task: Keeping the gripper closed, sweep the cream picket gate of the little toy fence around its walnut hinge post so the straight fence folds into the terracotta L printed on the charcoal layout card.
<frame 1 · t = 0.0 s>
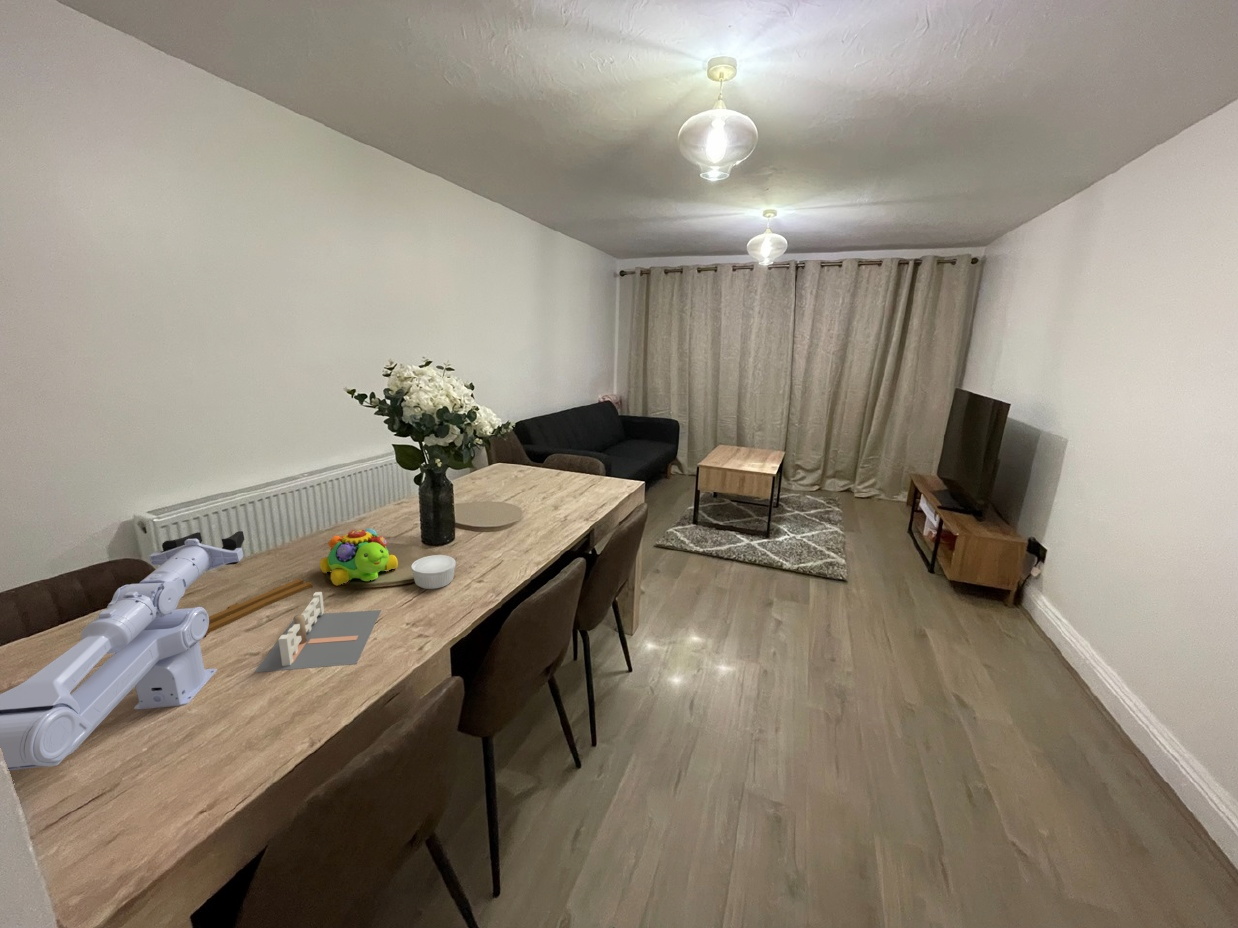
hand: (220, 536, 102), 22 cm above the table, tool horizontal, fingers open, 7 cm apart
layout card: (324, 639, 106), on the table
turtle toy: (364, 575, 134), on the table
ramekin: (434, 581, 132), on the table
fence fixed: (302, 642, 104), resting on layout card
fence gate: (311, 613, 109), point 3 cm above the table, hinge at 0.0°
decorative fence: (254, 611, 116), on the table
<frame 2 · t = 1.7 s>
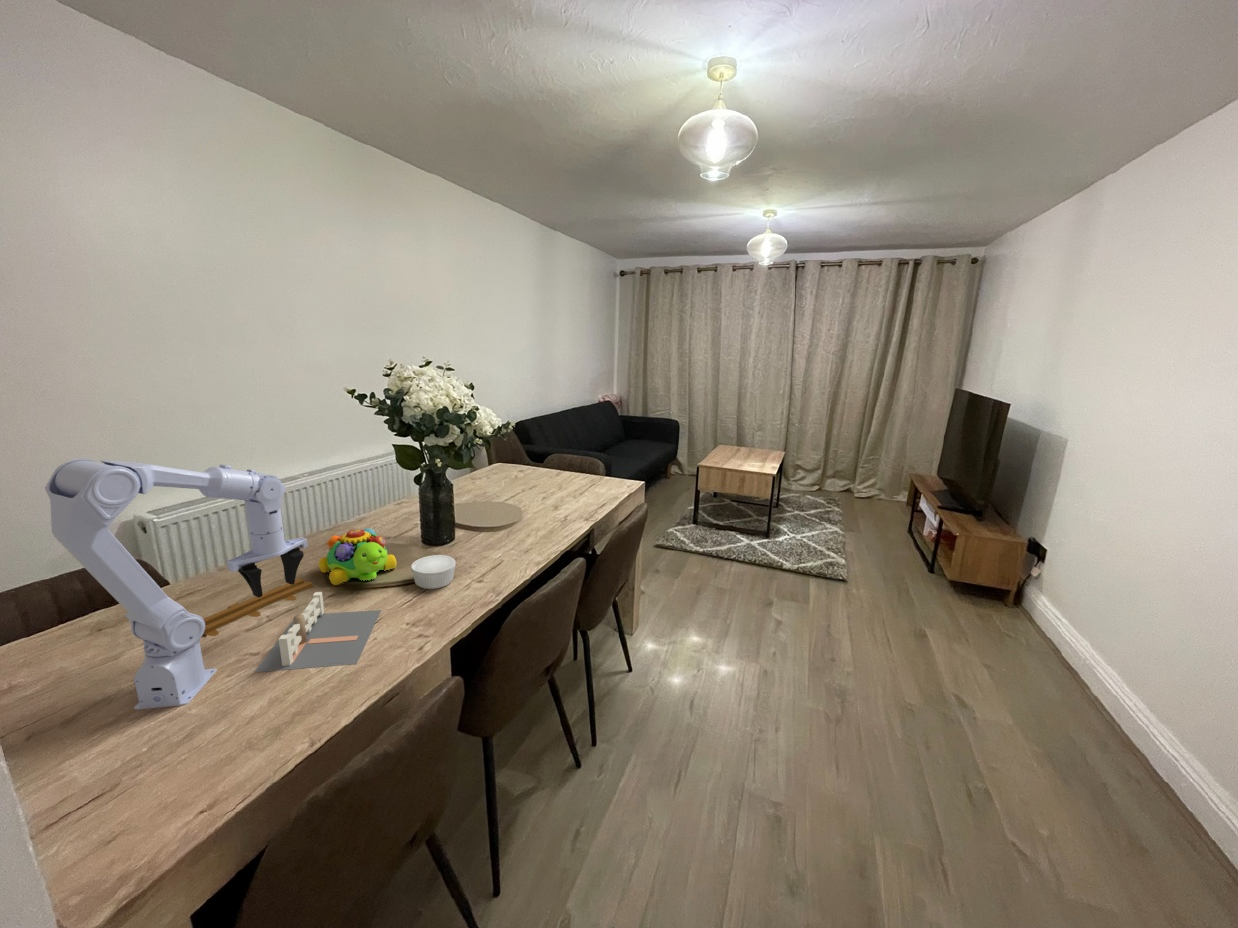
hand: (274, 589, 105), 10 cm above the table, tool pointing down, fingers open, 6 cm apart
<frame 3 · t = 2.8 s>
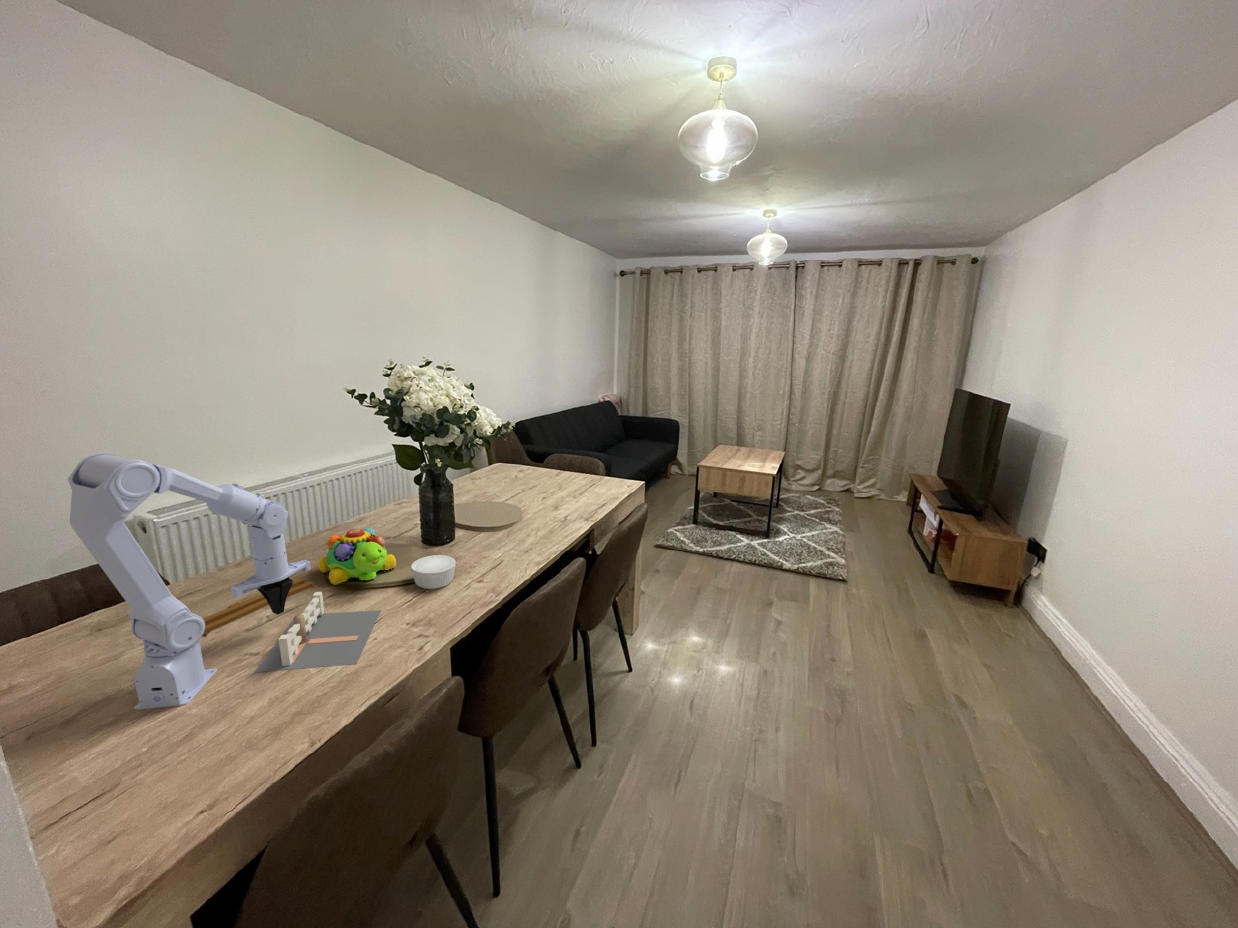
hand: (278, 611, 106), 5 cm above the table, tool pointing down, fingers closed
nothing on the table moved.
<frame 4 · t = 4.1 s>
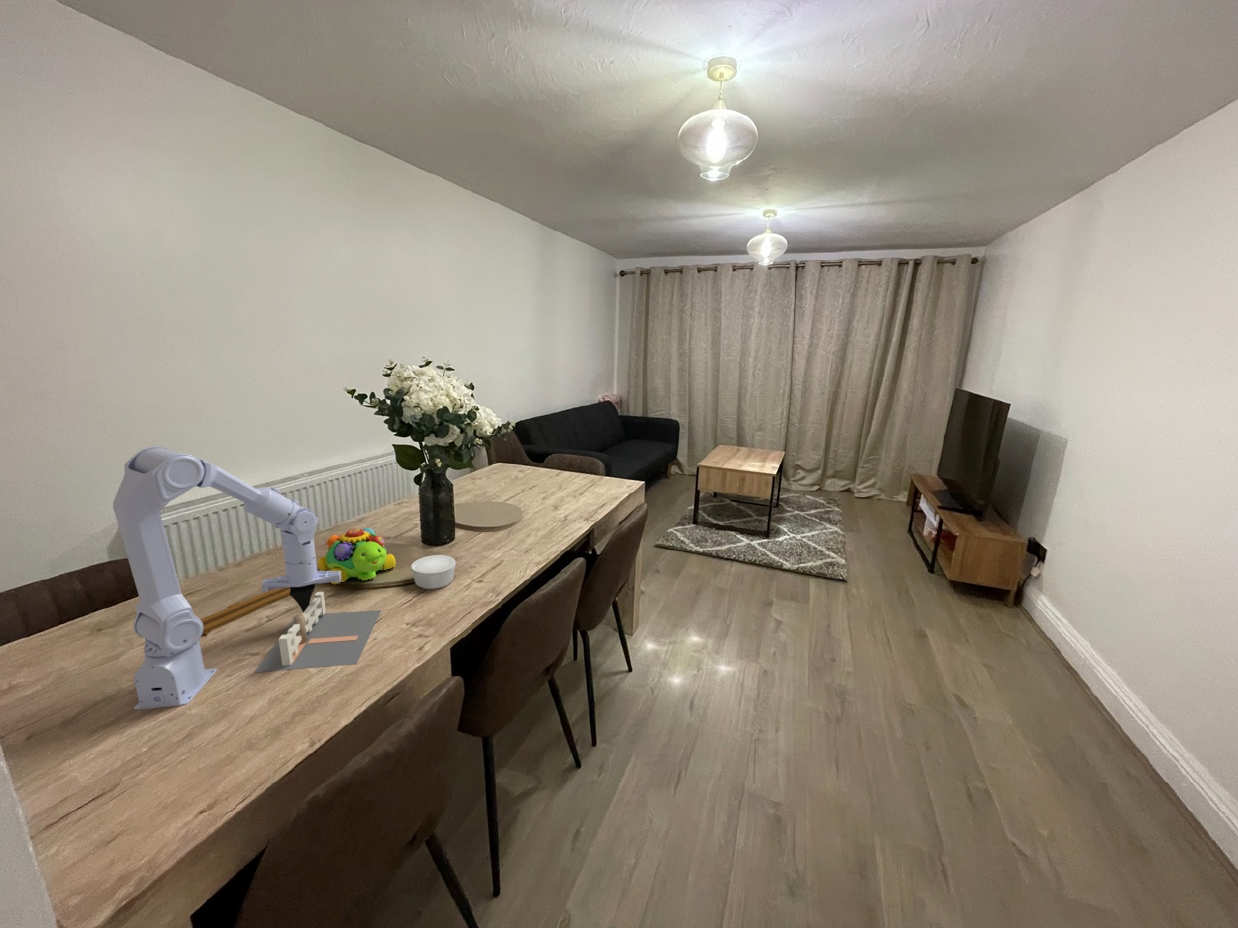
hand: (306, 614, 110), 2 cm above the table, tool pointing down, fingers closed
fence gate: (312, 613, 109), point 3 cm above the table, hinge at 1.8°, touching gripper
everything else where it was.
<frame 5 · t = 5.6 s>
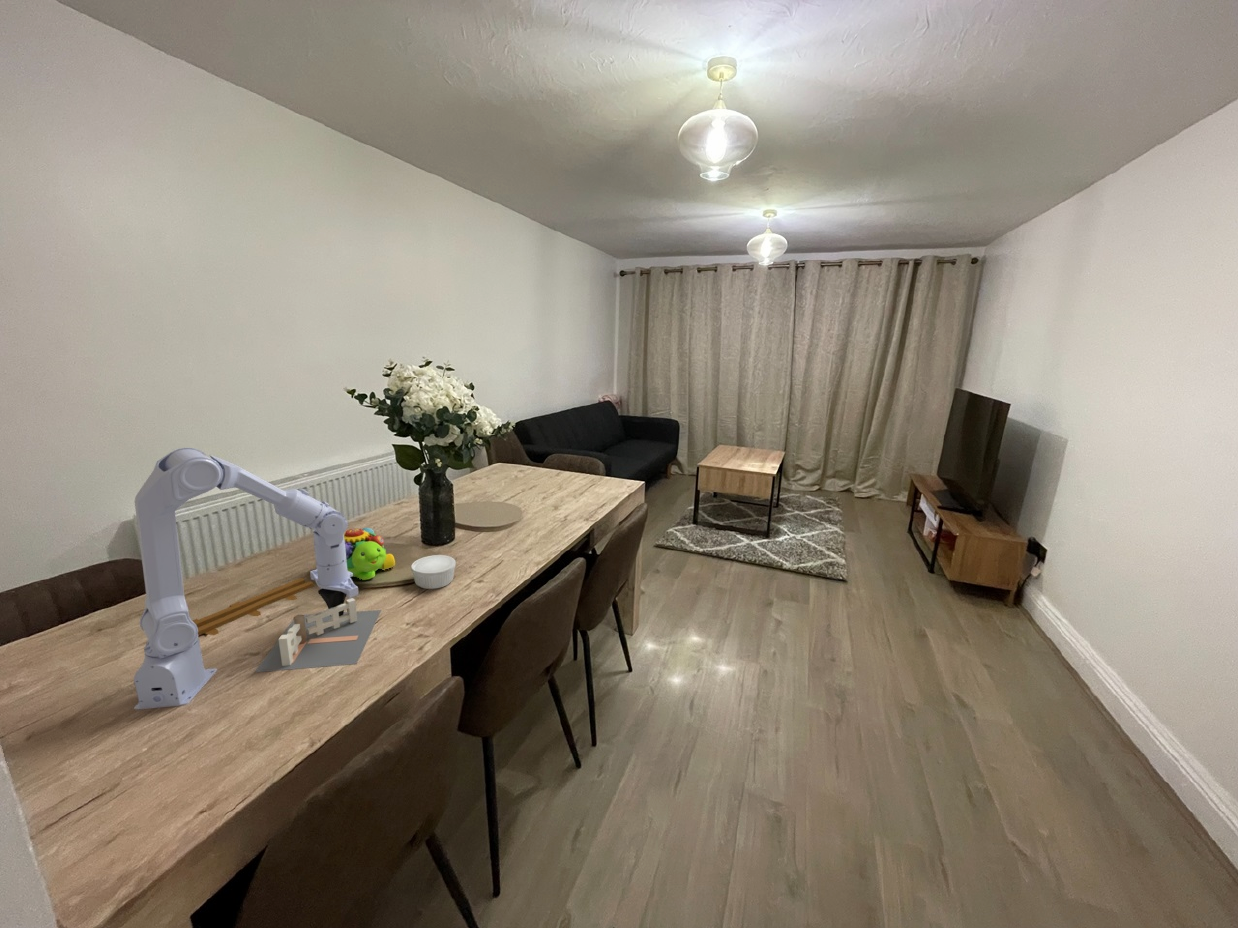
hand: (337, 615, 110), 2 cm above the table, tool pointing down, fingers closed
fence gate: (331, 617, 108), point 3 cm above the table, hinge at 51.3°, touching gripper
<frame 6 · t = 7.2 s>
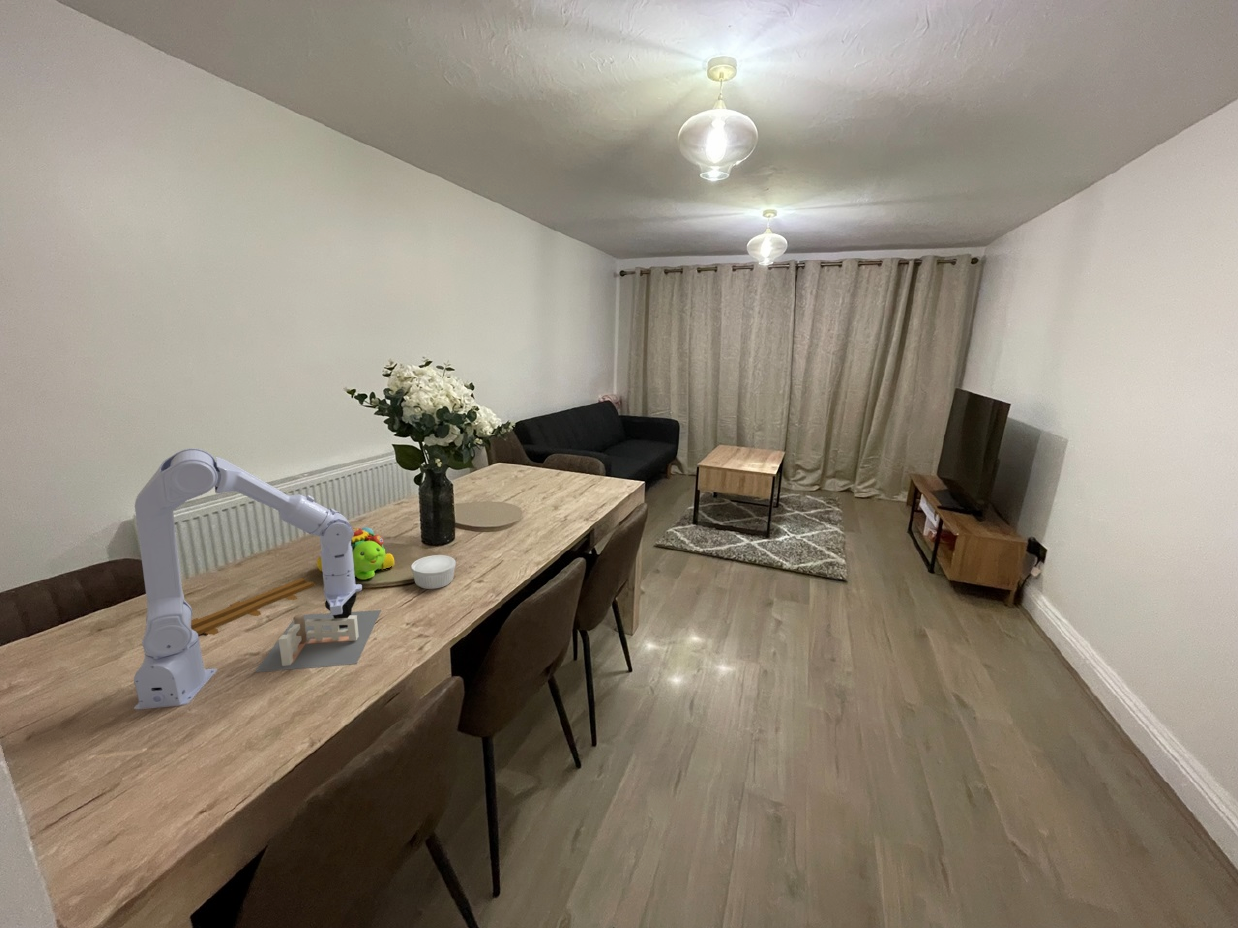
hand: (344, 626, 106), 2 cm above the table, tool pointing down, fingers closed
fence gate: (331, 628, 104), point 3 cm above the table, hinge at 94.1°, touching gripper
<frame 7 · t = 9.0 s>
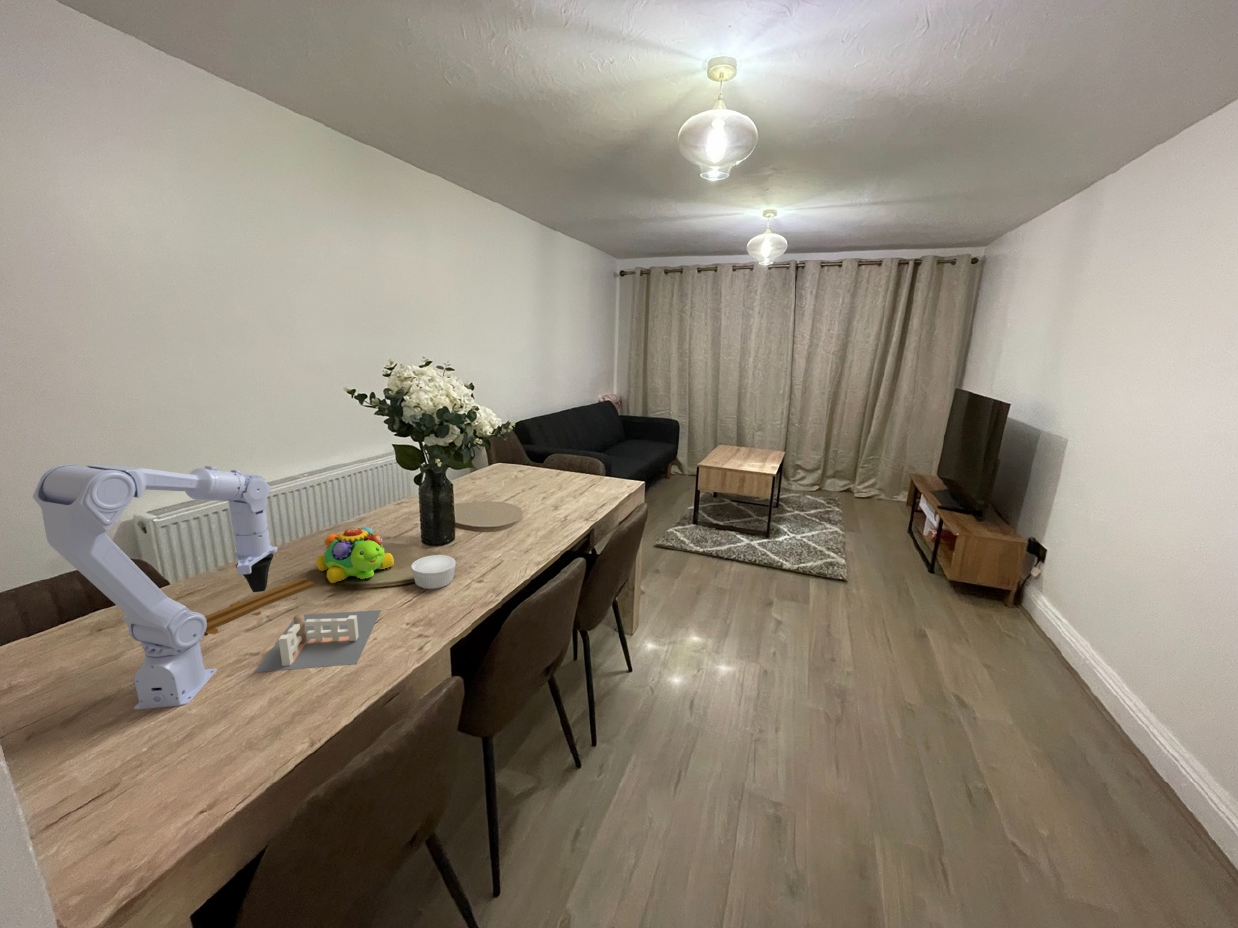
hand: (259, 590, 104), 10 cm above the table, tool pointing down, fingers closed
fence gate: (331, 628, 104), point 3 cm above the table, hinge at 94.2°
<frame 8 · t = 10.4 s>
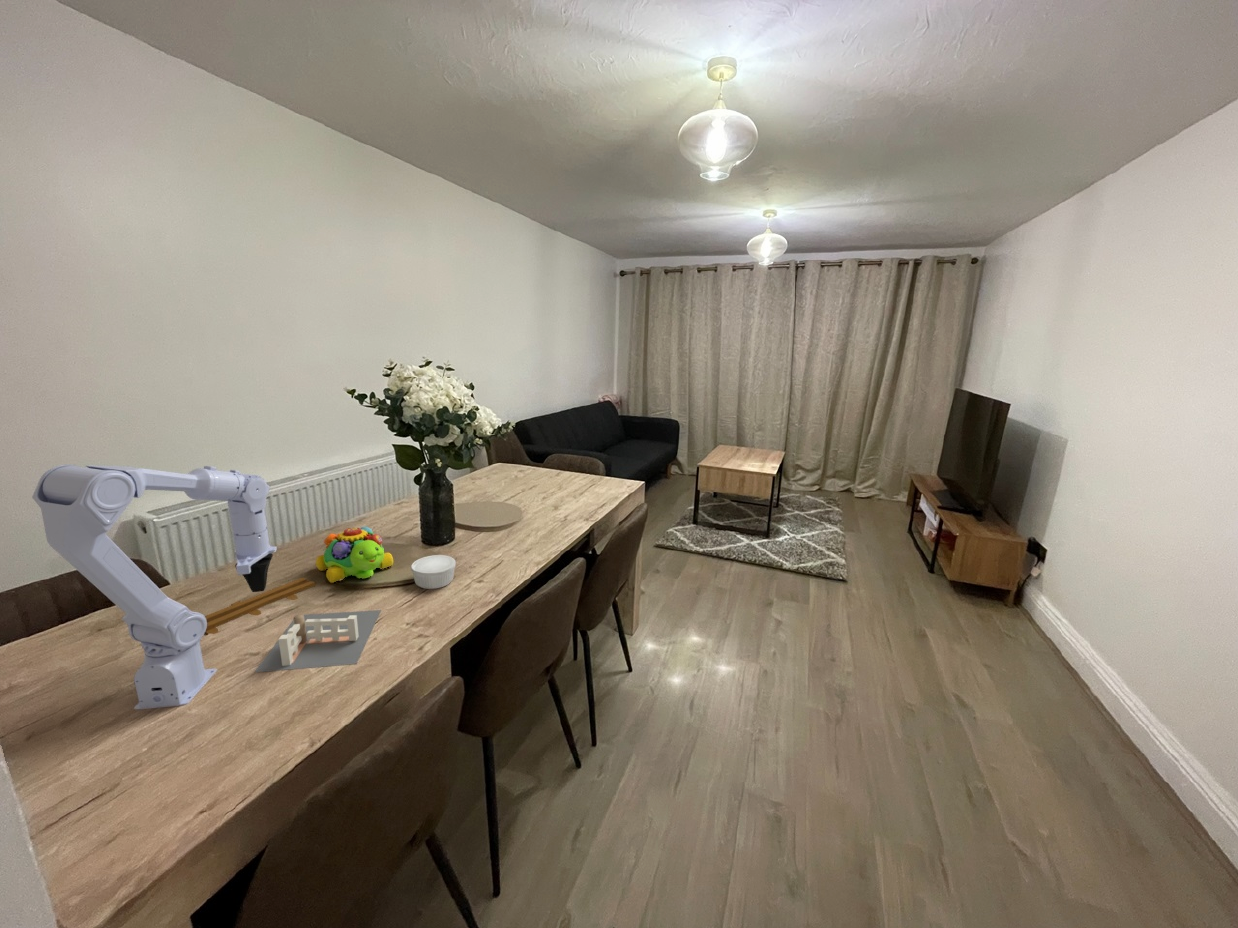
hand: (258, 590, 104), 10 cm above the table, tool pointing down, fingers closed
at the end: fence gate at +94° (first picture: +0°) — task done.
